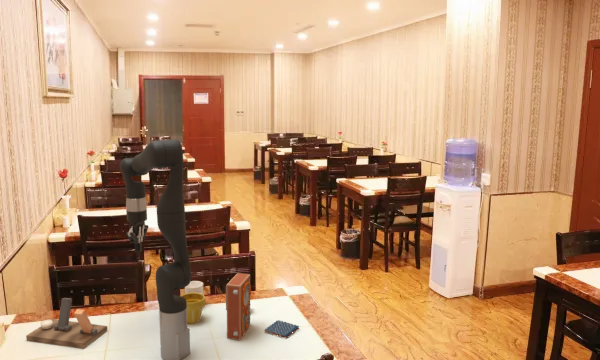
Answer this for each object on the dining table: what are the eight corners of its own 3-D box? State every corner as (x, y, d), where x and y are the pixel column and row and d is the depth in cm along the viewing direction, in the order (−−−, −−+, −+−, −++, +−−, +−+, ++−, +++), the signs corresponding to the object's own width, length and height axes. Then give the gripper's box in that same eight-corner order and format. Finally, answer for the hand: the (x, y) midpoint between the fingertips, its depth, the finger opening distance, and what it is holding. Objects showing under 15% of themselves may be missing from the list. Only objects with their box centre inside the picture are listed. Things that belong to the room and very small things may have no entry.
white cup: (185, 310, 208) (184, 288, 207) (184, 303, 216) (184, 281, 214) (204, 309, 211) (203, 286, 209) (202, 301, 218) (202, 280, 216)
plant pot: (207, 323, 197) (207, 300, 195) (181, 327, 193) (180, 304, 192) (202, 313, 207) (202, 291, 205) (177, 316, 203) (176, 294, 201)
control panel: (253, 324, 197) (241, 342, 183) (236, 322, 199) (223, 339, 184) (253, 273, 194) (241, 287, 179) (236, 271, 195) (222, 285, 181)
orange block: (94, 330, 184) (84, 309, 178) (91, 334, 183) (81, 314, 176) (87, 329, 185) (77, 309, 178) (84, 333, 183) (73, 313, 177)
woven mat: (277, 323, 200) (277, 318, 199) (300, 329, 194) (300, 325, 194) (262, 333, 191) (262, 328, 190) (286, 340, 185) (286, 335, 185)
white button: (55, 325, 189) (54, 320, 188) (47, 329, 185) (47, 324, 184) (46, 323, 190) (45, 319, 189) (38, 328, 186) (38, 323, 185)
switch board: (107, 330, 190) (107, 322, 189) (84, 348, 176) (83, 339, 176) (53, 323, 195) (52, 315, 194) (26, 340, 181) (25, 331, 181)
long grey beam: (67, 329, 186) (72, 298, 188) (64, 330, 184) (68, 299, 186) (60, 328, 187) (65, 297, 188) (57, 329, 185) (61, 298, 186)
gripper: (136, 213, 185) (138, 257, 187) (153, 205, 197) (155, 247, 200) (118, 211, 186) (120, 256, 189) (137, 204, 199) (138, 246, 202)
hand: (138, 251), depth 195 cm, fingers closed
